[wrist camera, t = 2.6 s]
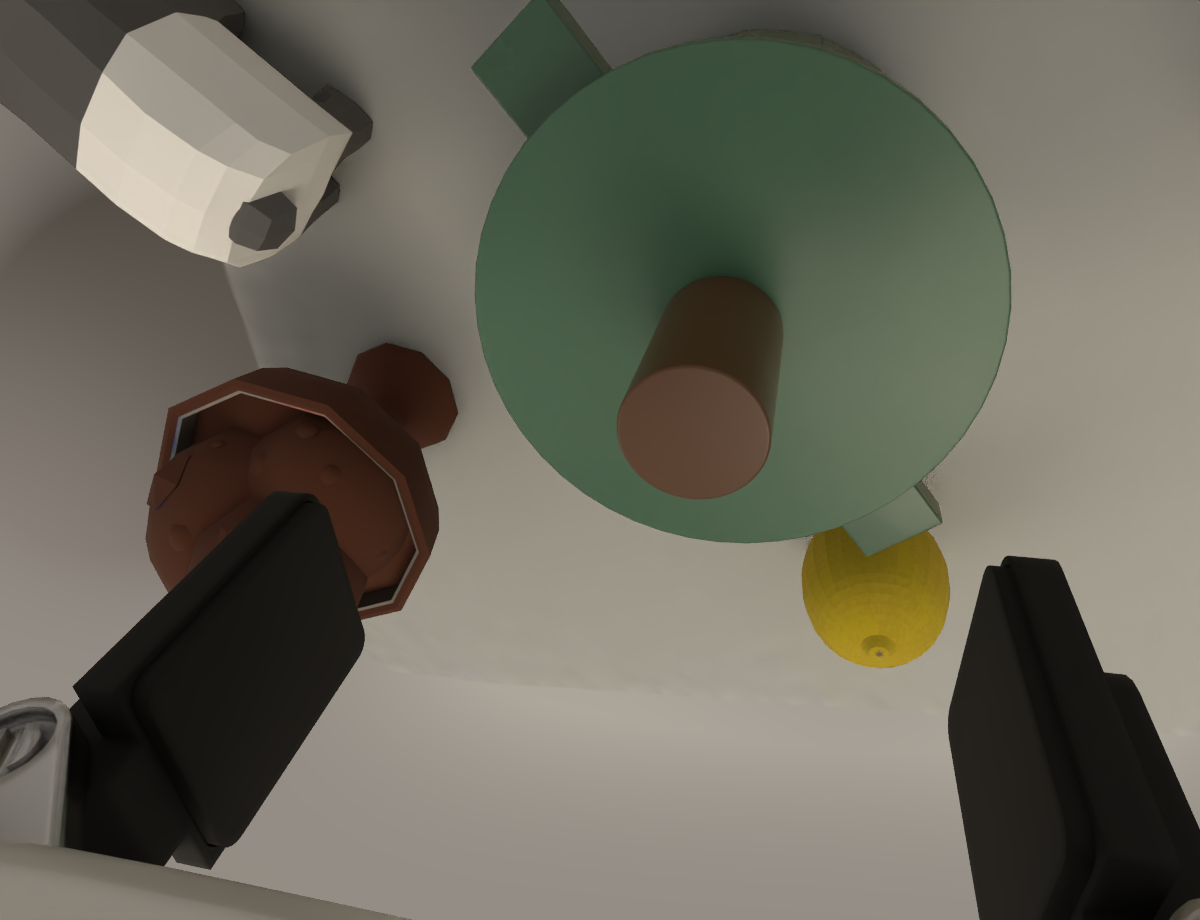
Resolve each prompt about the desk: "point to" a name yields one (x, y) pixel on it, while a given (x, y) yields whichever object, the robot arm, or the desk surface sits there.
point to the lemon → (876, 597)
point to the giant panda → (178, 119)
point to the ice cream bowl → (309, 466)
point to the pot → (570, 62)
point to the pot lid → (743, 290)
